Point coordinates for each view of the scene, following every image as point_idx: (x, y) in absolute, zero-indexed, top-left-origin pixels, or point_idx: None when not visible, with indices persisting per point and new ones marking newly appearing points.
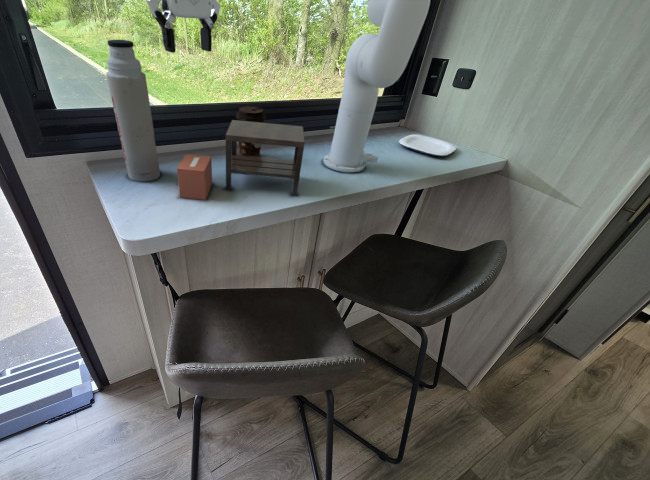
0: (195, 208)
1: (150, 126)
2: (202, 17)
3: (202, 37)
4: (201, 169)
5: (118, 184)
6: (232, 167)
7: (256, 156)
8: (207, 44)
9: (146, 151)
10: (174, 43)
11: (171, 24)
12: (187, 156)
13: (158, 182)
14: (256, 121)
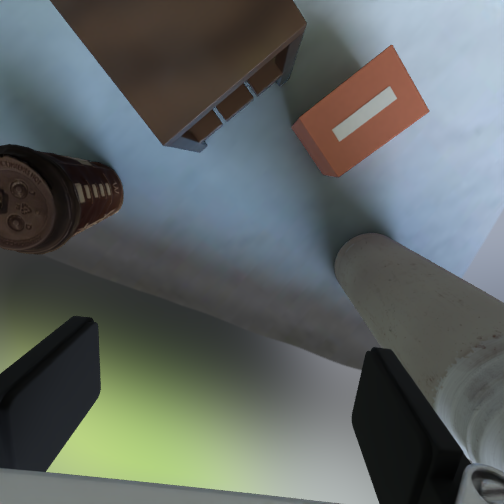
0: (410, 54)
1: (403, 270)
2: (32, 473)
3: (59, 428)
4: (389, 59)
5: (434, 262)
6: (263, 69)
7: (92, 162)
8: (79, 349)
9: (405, 249)
10: (386, 377)
11: (463, 493)
12: (347, 161)
13: (372, 216)
14: (42, 153)
